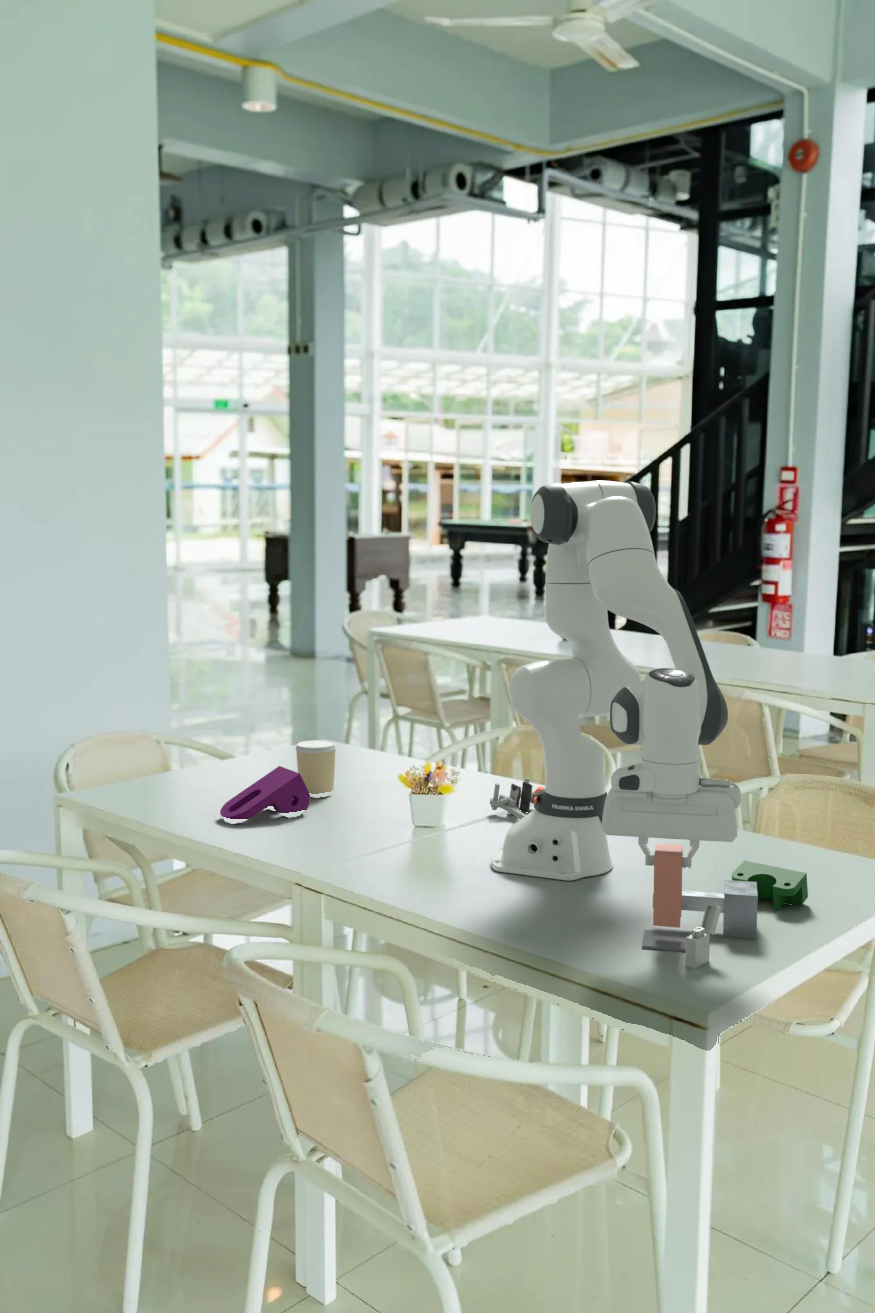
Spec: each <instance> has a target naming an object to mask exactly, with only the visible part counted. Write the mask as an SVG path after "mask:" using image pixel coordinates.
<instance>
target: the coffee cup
mask: <svg viewBox="0 0 875 1313" xmlns="http://www.w3.org/2000/svg"><path fill="white" fill-rule="evenodd" d="M336 750H337V746H336V744H335V742H333V741H330V740H326V739H323V740H322V739H321V740H320V739H312V740H303V741H299V742H298V743H296V746H295V751H296V762H297V764H296V766H297V773H300V775H301V777H302V779H303V781H304V783H305V785H306V787H307V789H308V791H309V793H311V794H319V793H325V792H331V791H332V790H333V791H334V784H335V771H336V770H335V768H336Z"/></svg>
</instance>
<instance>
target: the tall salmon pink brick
mask: <svg viewBox="0 0 875 1313" xmlns="http://www.w3.org/2000/svg"><path fill="white" fill-rule="evenodd" d="M683 846H684V845H683V844H673V843H672V844H671V843H656V845H655V850H654V852H655V854H654V866H653V890H654V900H653V899H652V909H653V910H652V912H653V913H652V914H653V915H652V916H653V917H652V926H653V927H654V926H656V927H664V928H665V927H668V928H678V929H679V928H681V917H682V910H681V909H682V891H683V868H682V854H684V853H683V851H684V849H683V848H684V847H683Z"/></svg>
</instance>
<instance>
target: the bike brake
mask: <svg viewBox="0 0 875 1313" xmlns="http://www.w3.org/2000/svg"><path fill="white" fill-rule="evenodd" d="M500 787H501V784H500V783H495V784H494V790H493V797H491V798H490V800H489V804H490V807H491V810H492V811H497V810H498V808H500V809H502V810H504V811H506V812H507V813H508V814H510V815H512V816H514V817H516V818H518V819H519V820H520V819H522V818H523V817H524V816H526V815H527V813H526V814H525V813H524V812H529V813H530V808H531V807H530V805H531V804H533V805H534V792H535V791H533V790H532V789H533V785H532V784H530V778H529V777H524V781H523V782H522V787H521V786H519V785H517V784H514V783H512V784H510V792H509V796H507V795H504V794H502V793H501V794H500ZM520 810H521V811H520ZM522 811H523V812H522Z"/></svg>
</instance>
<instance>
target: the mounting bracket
mask: <svg viewBox="0 0 875 1313" xmlns="http://www.w3.org/2000/svg"><path fill="white" fill-rule="evenodd" d="M310 801H311V798H310V794H309V791H308V789H307V787H306V785H305V783H304V781H303V779H302V777H301V775H300V773H298V771H297V772H296V771H293V770H291V769H288V768H285V767H284V766H282V765H278V766H277V767H276V768H273V770H271V771H270V772H269V773H267V774H265V775H264V776H263V777H260V779H258V780H256V781H255V782H254V783H252V784H251V785H249V786H248V787H247V788H244V790H242V791H241V792H239V793H238V794H236V795H234V796H233V797H231V798H230V799H229V800H228V801H226V802H225V803H224V804H223V805H222V807H220V808H221V809H220V812H219V814H220V816H221V817H222V816H223V817H226V818H230V819H249V820H251V819H253V818H254V817H255V816H257V815H259V814H260V813H261V812H262V811H264V810H266V808H267V807H268V806H273V807H274V809H275V810H276V811H275V812H276V813H277V812H279V813H289V812H297V811H301V810H306V811H307V810H308V808H309V806H310V803H311V802H310Z"/></svg>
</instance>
